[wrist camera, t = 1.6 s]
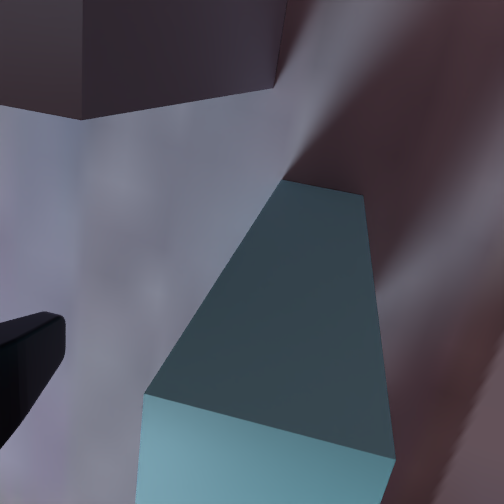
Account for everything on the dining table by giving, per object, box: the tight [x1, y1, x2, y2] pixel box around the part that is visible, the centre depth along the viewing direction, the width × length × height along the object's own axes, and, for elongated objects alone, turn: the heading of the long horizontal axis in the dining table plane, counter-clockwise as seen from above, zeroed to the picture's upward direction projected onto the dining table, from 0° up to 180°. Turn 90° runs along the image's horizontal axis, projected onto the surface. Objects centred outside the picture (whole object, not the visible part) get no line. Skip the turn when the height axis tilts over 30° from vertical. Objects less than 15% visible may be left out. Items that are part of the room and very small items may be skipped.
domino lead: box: [135, 180, 396, 504], centre depth 10 cm, size 2×5×10 cm, turn 172°
